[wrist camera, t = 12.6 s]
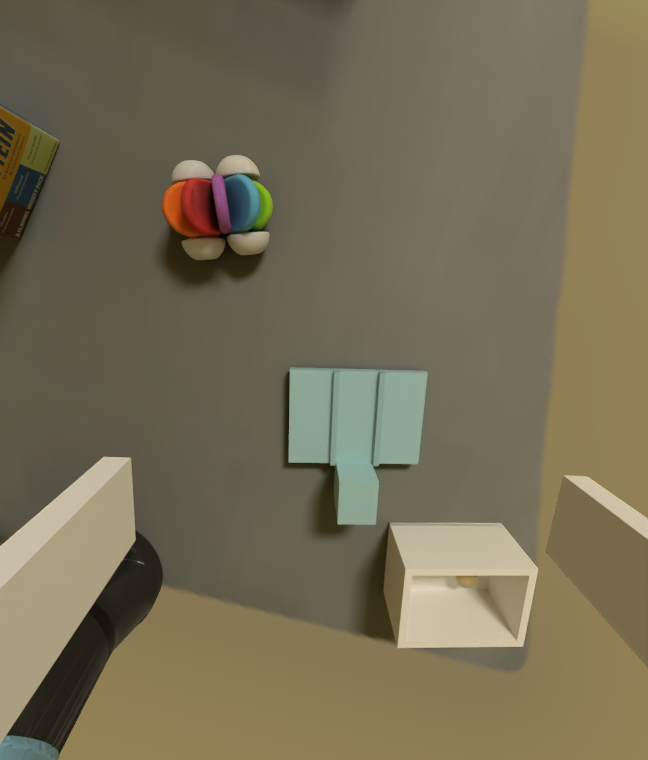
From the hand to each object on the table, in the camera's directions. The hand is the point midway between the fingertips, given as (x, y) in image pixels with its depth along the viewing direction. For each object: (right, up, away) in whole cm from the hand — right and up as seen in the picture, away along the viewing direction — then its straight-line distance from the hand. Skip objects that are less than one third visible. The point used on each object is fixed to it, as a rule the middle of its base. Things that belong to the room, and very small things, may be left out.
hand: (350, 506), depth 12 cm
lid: (+3, -2, +33) cm, 33 cm away
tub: (+14, -19, +37) cm, 44 cm away
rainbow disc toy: (-11, +20, +27) cm, 35 cm away
